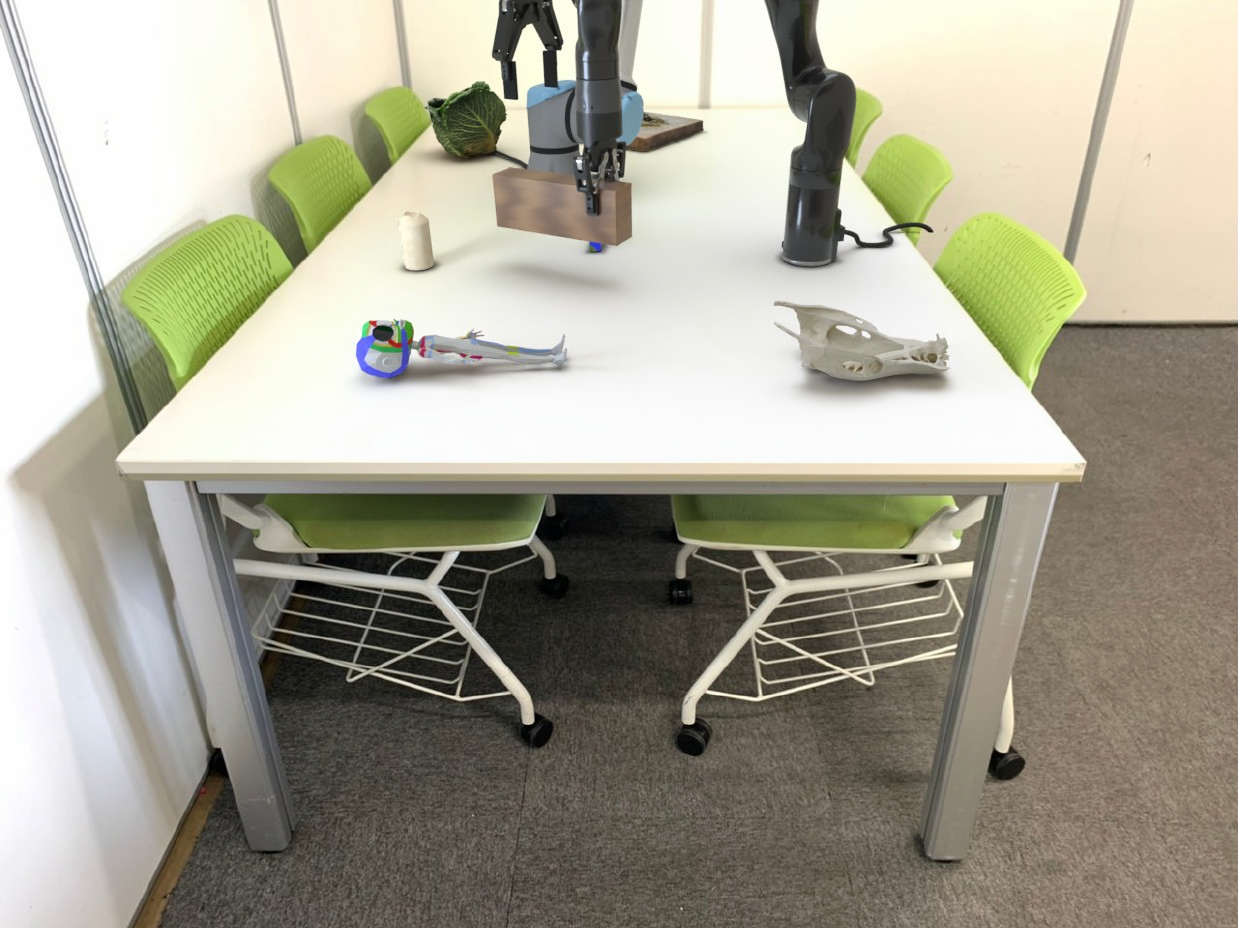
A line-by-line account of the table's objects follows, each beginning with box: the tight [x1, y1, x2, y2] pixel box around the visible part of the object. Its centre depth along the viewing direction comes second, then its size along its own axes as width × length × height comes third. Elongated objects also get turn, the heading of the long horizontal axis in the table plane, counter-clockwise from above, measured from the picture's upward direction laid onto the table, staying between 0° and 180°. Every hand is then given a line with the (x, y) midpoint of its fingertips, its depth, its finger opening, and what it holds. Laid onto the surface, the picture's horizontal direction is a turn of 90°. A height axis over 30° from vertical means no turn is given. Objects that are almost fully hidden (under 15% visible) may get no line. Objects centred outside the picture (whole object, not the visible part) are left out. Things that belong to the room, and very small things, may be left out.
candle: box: [397, 211, 435, 271], centre depth 166 cm, size 6×6×10 cm
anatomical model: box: [773, 300, 952, 382], centre depth 127 cm, size 15×9×25 cm
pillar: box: [588, 241, 605, 252], centre depth 182 cm, size 2×2×20 cm
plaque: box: [626, 111, 705, 152], centre depth 257 cm, size 30×7×30 cm
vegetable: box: [424, 80, 508, 159], centre depth 237 cm, size 20×19×20 cm
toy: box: [353, 318, 568, 379], centre depth 130 cm, size 10×8×30 cm
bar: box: [492, 166, 633, 247], centre depth 157 cm, size 25×6×9 cm, turn 61°
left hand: (531, 93), depth 171 cm, fingers open, 13 cm apart
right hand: (602, 210), depth 154 cm, fingers closed on bar, 5 cm apart
